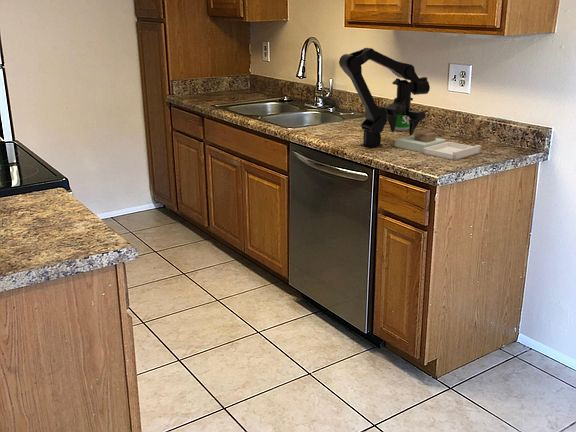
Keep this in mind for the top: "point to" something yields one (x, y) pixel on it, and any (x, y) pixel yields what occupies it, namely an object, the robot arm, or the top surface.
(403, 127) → the soda can
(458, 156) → the tray
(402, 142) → the platform
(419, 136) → the walnut tile
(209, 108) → the top surface
